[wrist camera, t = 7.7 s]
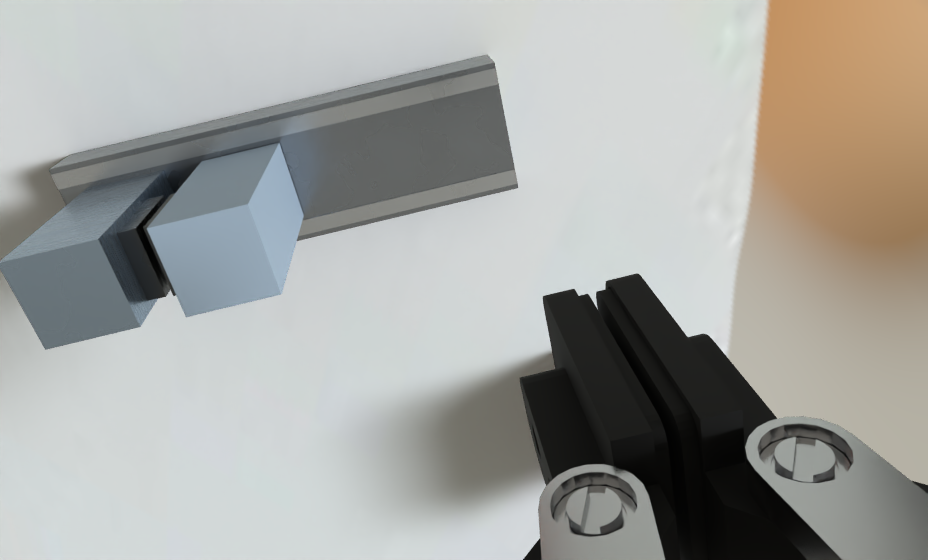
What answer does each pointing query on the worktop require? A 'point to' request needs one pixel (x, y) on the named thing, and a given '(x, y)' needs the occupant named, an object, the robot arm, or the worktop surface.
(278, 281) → the block
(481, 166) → the rail
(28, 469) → the worktop surface
